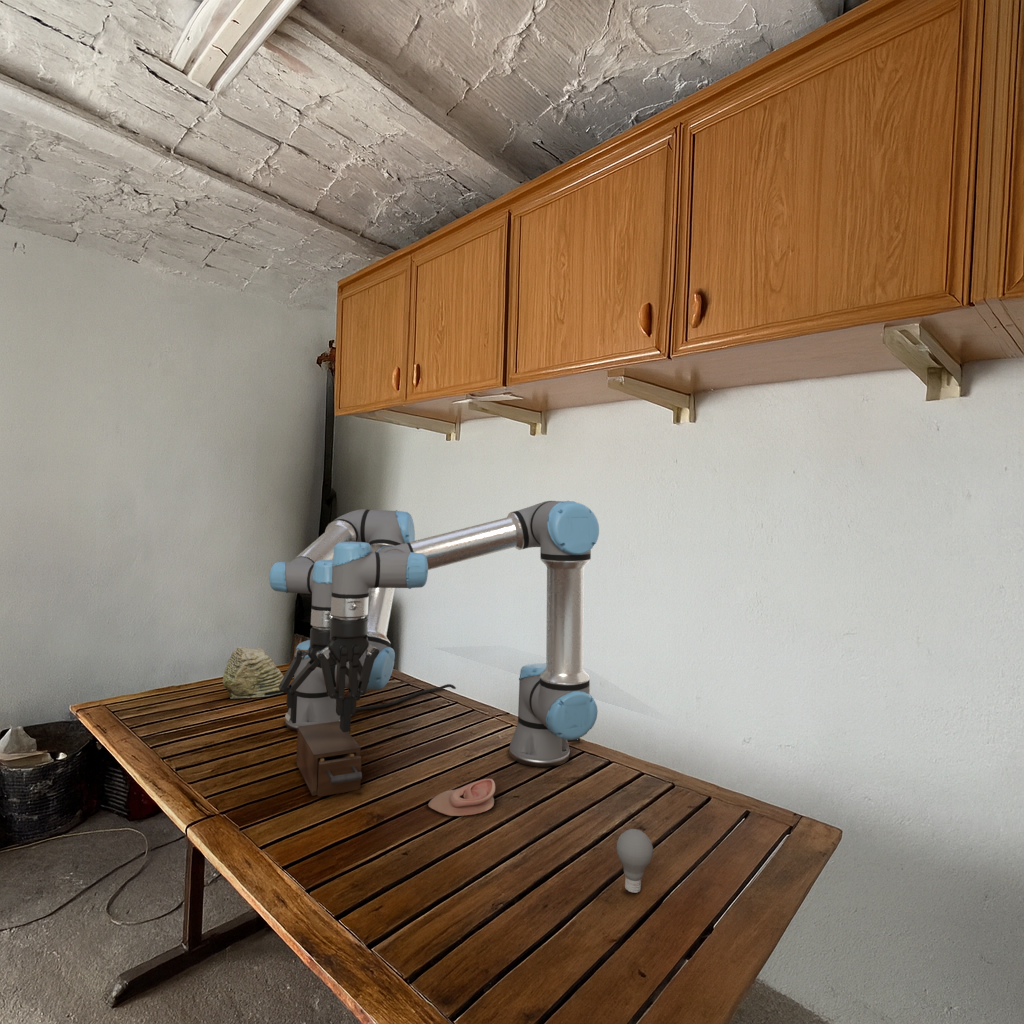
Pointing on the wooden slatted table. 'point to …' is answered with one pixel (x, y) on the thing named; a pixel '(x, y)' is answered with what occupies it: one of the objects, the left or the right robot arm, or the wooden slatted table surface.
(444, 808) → the anatomical model
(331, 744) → the cabinet
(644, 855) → the light bulb
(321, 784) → the drawer
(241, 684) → the fossil
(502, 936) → the wooden slatted table surface
